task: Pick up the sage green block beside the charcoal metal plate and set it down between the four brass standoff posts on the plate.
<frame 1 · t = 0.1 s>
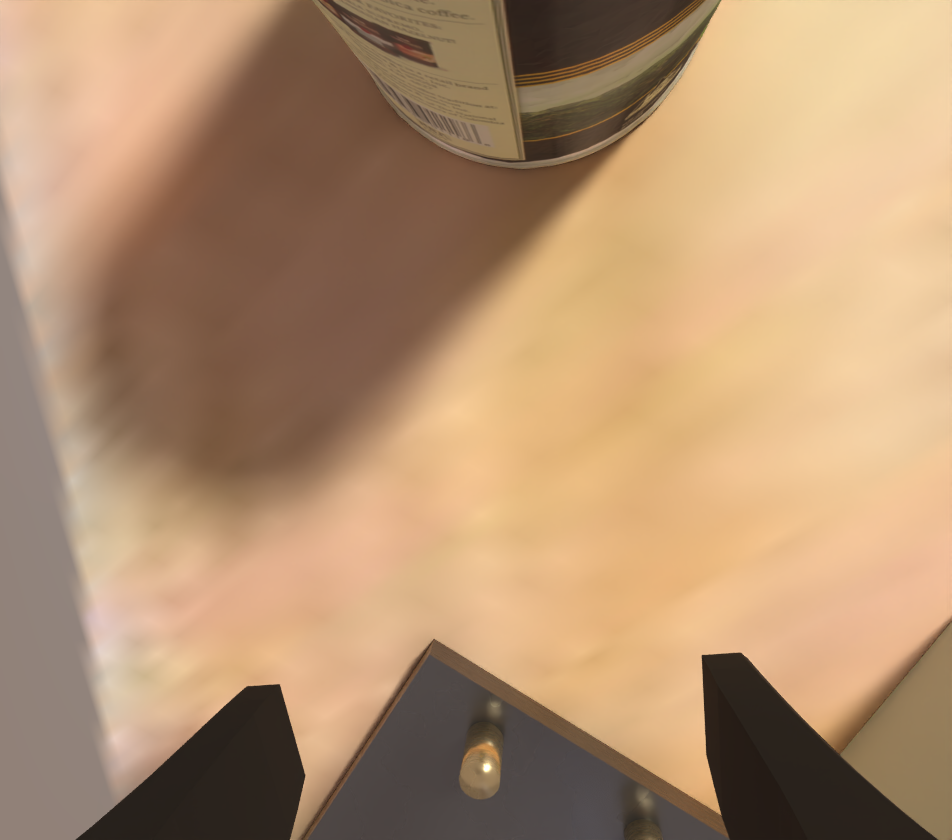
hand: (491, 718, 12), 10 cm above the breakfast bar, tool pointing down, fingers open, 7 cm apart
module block: (941, 726, 22), on the breakfast bar
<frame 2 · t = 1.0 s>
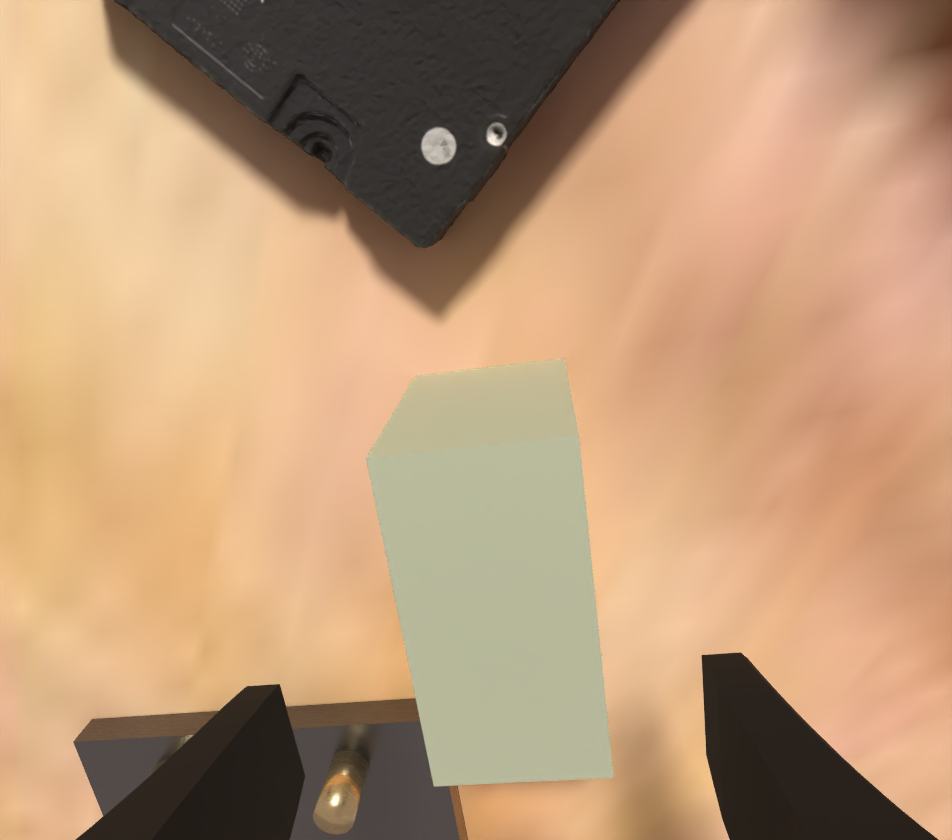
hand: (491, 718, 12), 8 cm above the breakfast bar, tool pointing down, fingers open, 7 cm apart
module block: (508, 501, 20), on the breakfast bar
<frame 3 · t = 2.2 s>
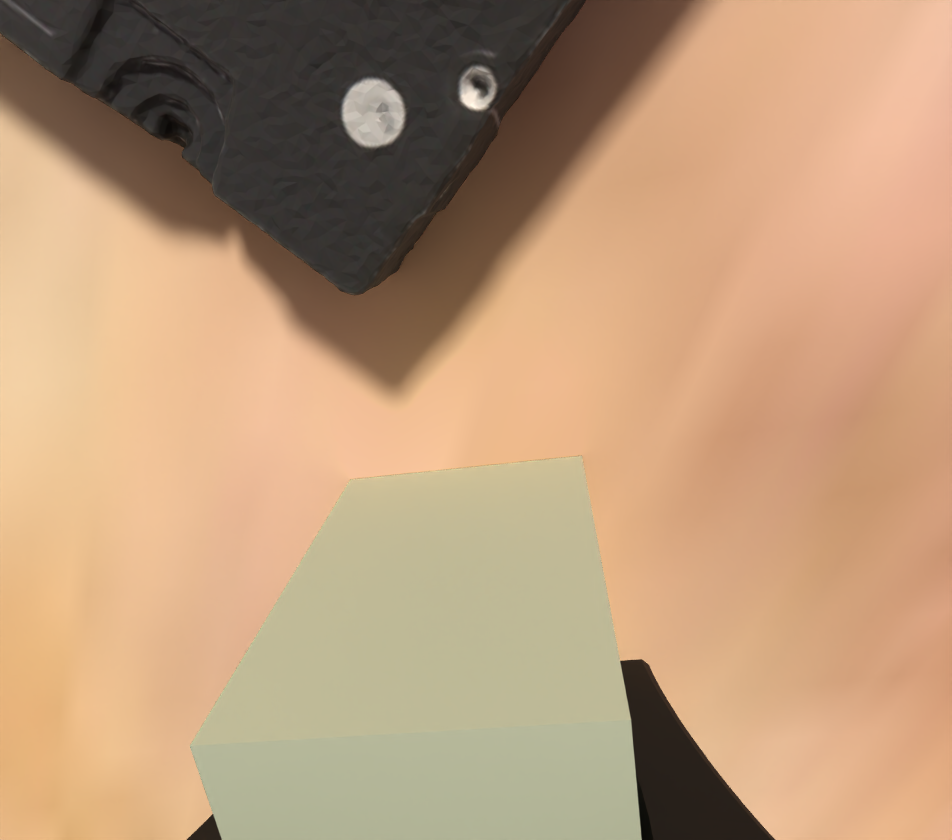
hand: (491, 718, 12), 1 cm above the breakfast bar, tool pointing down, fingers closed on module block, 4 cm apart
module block: (494, 662, 13), on the breakfast bar, touching gripper
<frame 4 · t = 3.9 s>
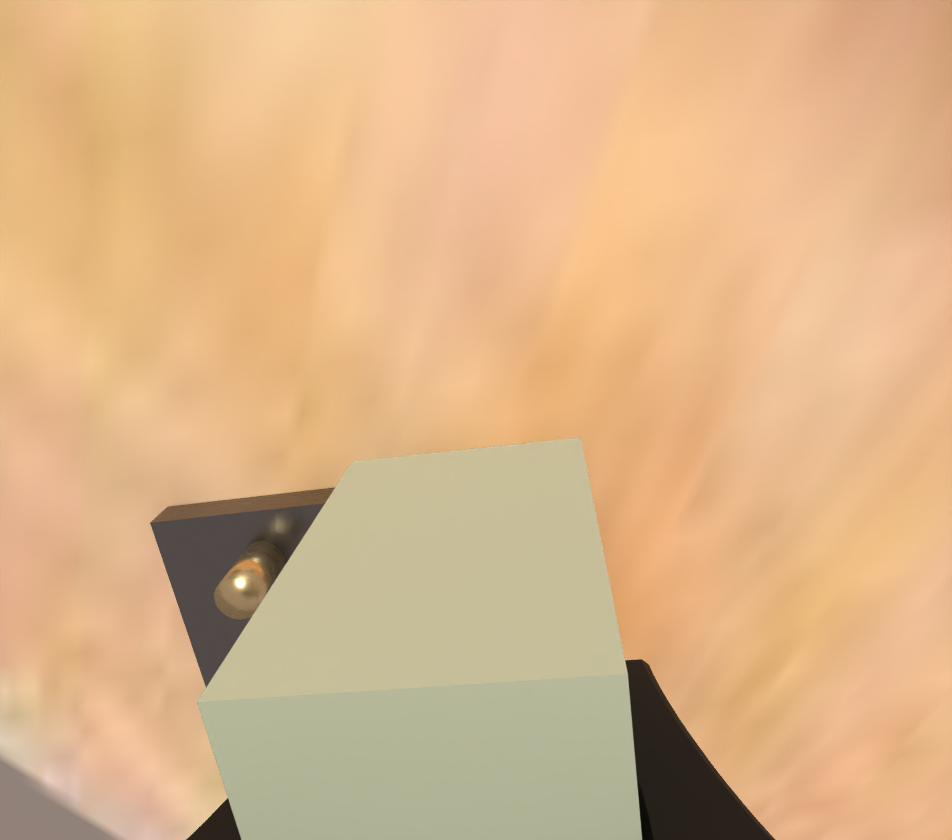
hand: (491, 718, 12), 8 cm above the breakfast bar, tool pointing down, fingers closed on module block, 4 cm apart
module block: (494, 644, 13), point 7 cm above the breakfast bar, touching gripper
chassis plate: (407, 672, 22), on the breakfast bar
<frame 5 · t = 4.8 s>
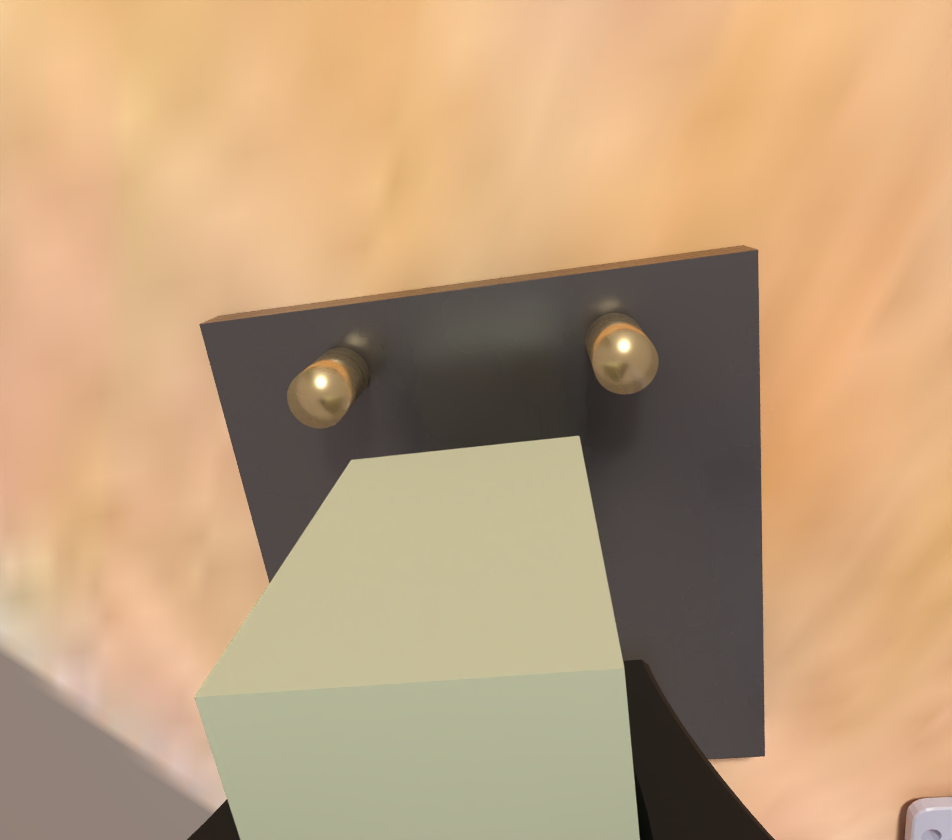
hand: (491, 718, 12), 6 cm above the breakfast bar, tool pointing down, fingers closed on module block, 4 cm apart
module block: (493, 643, 13), point 5 cm above the breakfast bar, touching gripper
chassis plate: (506, 537, 18), on the breakfast bar
when the fingers open (4 cm above the breakfast bar, at t = 5.6 s): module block drops 1 cm, resting on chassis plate.
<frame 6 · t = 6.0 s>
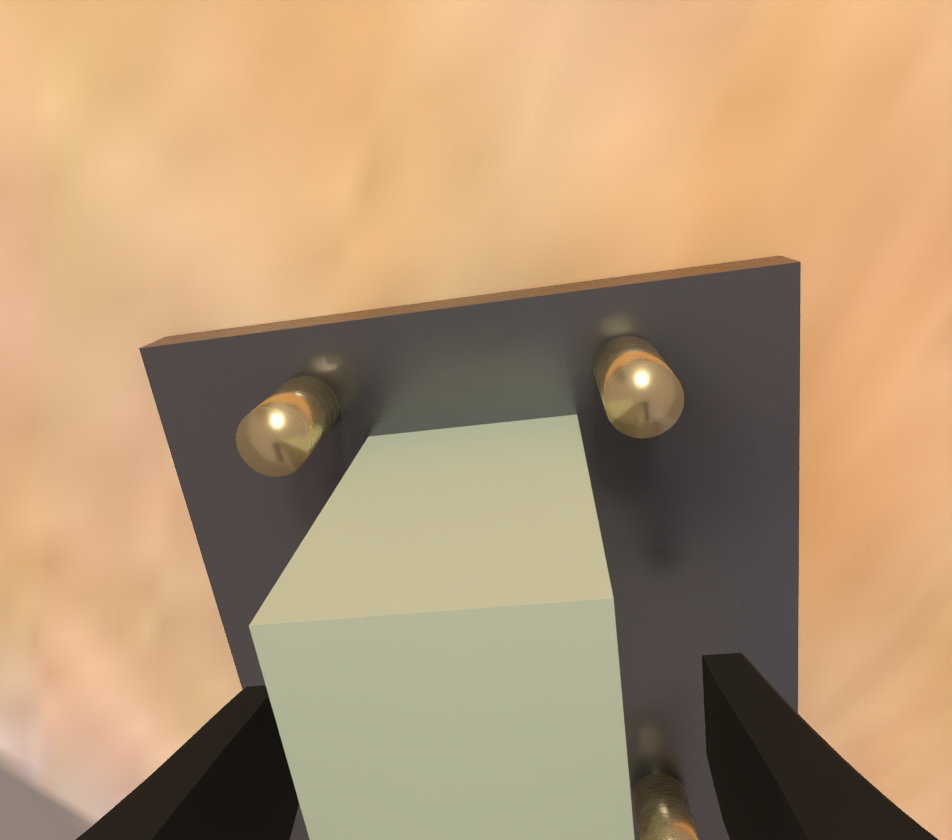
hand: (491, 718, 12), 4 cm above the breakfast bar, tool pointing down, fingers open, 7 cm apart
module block: (497, 606, 14), point 1 cm above the breakfast bar, touching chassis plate
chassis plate: (500, 589, 15), on the breakfast bar
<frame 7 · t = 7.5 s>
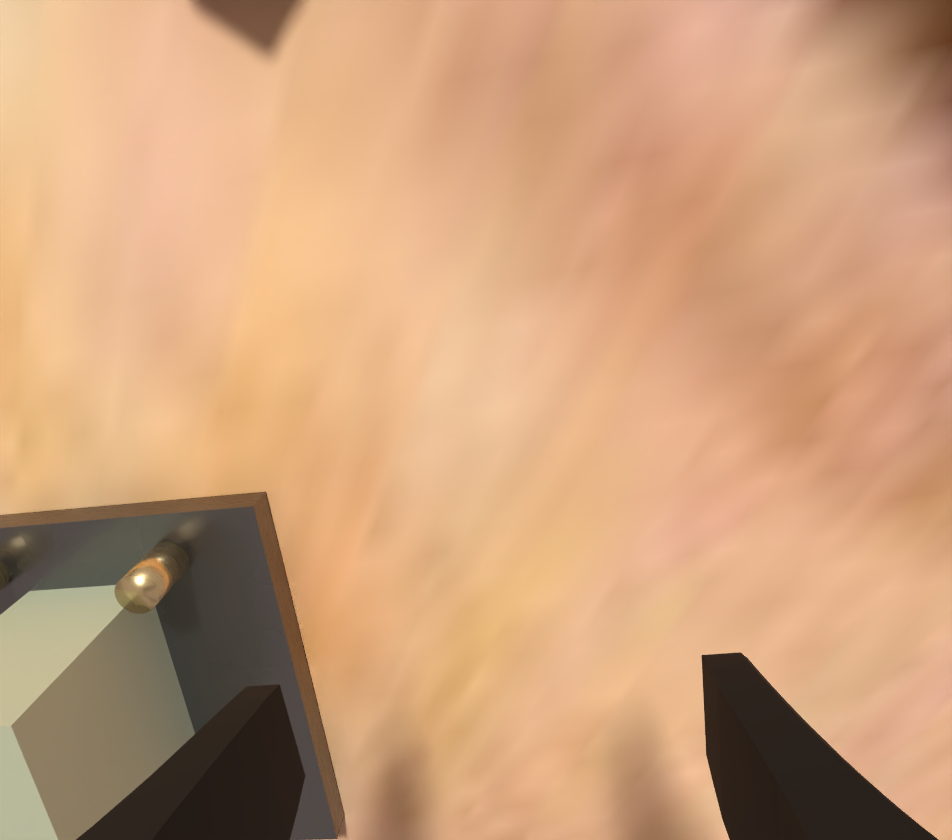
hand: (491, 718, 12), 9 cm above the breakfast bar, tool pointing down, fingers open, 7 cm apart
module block: (124, 691, 23), point 1 cm above the breakfast bar, touching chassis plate
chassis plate: (141, 676, 24), on the breakfast bar
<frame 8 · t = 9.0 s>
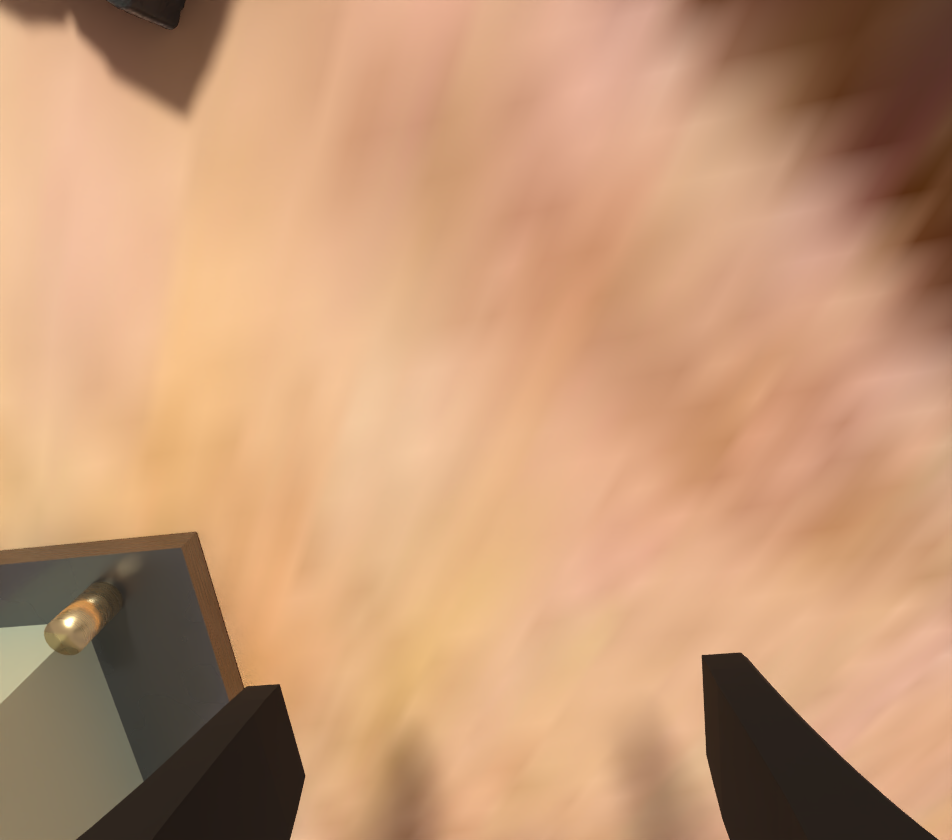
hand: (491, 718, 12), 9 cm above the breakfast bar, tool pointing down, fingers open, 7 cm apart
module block: (66, 725, 24), point 1 cm above the breakfast bar, touching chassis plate
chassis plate: (86, 709, 25), on the breakfast bar
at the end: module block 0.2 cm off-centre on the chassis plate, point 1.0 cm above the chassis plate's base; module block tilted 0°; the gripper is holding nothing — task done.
